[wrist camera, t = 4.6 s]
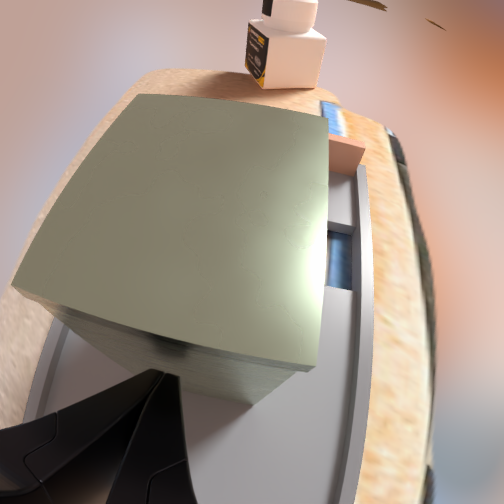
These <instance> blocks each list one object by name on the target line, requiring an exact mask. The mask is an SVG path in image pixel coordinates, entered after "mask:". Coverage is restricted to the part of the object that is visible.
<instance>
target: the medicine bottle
mask: <svg viewBox="0 0 504 504" xmlns="http://www.w3.org/2000/svg"><path fill="white" fill-rule="evenodd" d="M317 7H318V0H263V7H262V16H261V18H262V19H263V20H250V21H249V24H248V36H247V48H246V59H245V67H246V68H247V70H248V71H249V72H250V74H251V75H252V76H253V78H254V79H255V80H256V82H257V83H258V84H259V86H260V87H261V88H262V89H283V88H315V87H316V86H317V81H318V77H319V73H320V68H321V64H322V60H323V55H324V51H325V46H326V42H327V39H326V38H325V37H324V36H322V35H321V34H319V33H318V32H316V31H315V30H313V29H312V28H311V27H313V26H314V22H315V18H316V12H317Z"/></svg>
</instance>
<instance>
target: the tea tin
mask: <svg viewBox="0 0 504 504" xmlns="http://www.w3.org/2000/svg"><path fill="white" fill-rule="evenodd" d="M328 180H329V135H328V118H324V117H320V116H316V115H311V114H307V113H302V112H297V111H292V110H287V109H281V108H276V107H270V106H264V105H258V104H251V103H245V102H237V101H230V100H222V99H213V98H203V97H192V96H178V95H161V94H138V95H137V96H136V97H135V98H134V99H133V100H132V101H131V103H130V104H129V105H128V106H127V107H126V108H125V109H124V111H123V112H122V113H121V114H120V115H119V116H118V117H117V119H116V120H115V121H114V122H113V123H112V125H111V126H110V127H109V128H108V130H107V131H106V132H105V133H104V134H103V136H102V137H101V138H100V140H99V141H98V142H97V143H96V145H95V146H94V147H93V149H92V150H91V151H90V153H89V154H88V155H87V157H86V158H85V159H84V161H83V162H82V163H81V165H80V166H79V168H78V169H77V170H76V172H75V173H74V175H73V176H72V178H71V179H70V181H69V182H68V184H67V185H66V187H65V188H64V190H63V191H62V193H61V194H60V196H59V197H58V199H57V200H56V202H55V204H54V205H53V207H52V208H51V210H50V212H49V213H48V215H47V217H46V218H45V220H44V222H43V224H42V225H41V227H40V229H39V231H38V232H37V234H36V236H35V238H34V240H33V241H32V243H31V245H30V247H29V249H28V251H27V253H26V255H25V257H24V259H23V261H22V263H21V265H20V267H19V269H18V271H17V273H16V275H15V277H14V279H13V281H12V284H11V285H12V286H13V287H14V288H15V289H16V290H17V291H18V292H19V293H21V294H22V295H23V296H24V297H26V298H28V299H31V300H33V301H36V302H38V303H39V304H40V305H42V306H43V307H44V308H45V309H46V310H47V311H49V312H50V313H51V314H52V315H53V316H54V317H56V318H57V319H58V320H59V321H61V322H62V323H63V324H64V325H66V326H67V327H68V328H69V329H71V330H72V331H73V332H74V333H76V334H77V335H78V336H80V337H81V338H82V339H84V340H85V341H86V342H88V343H89V344H90V345H92V346H93V347H94V348H96V349H97V350H99V351H100V352H101V353H103V354H104V355H106V356H107V357H108V358H110V359H111V360H113V361H114V362H116V363H117V364H119V365H120V366H122V367H123V368H125V369H126V370H128V371H129V372H131V373H132V374H134V375H137V374H139V373H141V372H143V371H145V370H147V369H150V368H154V369H157V370H161V371H164V372H165V373H167V372H168V373H172V374H176V375H179V376H180V381H181V390H184V391H188V392H192V393H196V394H200V395H204V396H209V397H213V398H218V399H223V400H227V401H232V402H238V403H243V404H248V405H255V404H257V403H258V402H259V401H261V400H262V399H263V398H264V397H266V396H267V395H268V394H270V393H271V392H272V391H274V390H275V389H276V388H277V387H279V386H280V385H281V384H282V383H284V382H285V381H286V380H287V379H289V378H290V377H291V376H292V375H293V374H295V373H296V372H297V371H298V372H305V373H308V372H309V371H310V370H312V369H313V368H315V367H316V363H317V355H318V346H319V336H320V326H321V315H322V304H323V291H324V277H325V262H326V244H327V220H328Z"/></svg>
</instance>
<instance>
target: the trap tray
mask: <svg viewBox="0 0 504 504" xmlns="http://www.w3.org/2000/svg"><path fill="white" fill-rule="evenodd" d="M328 135H329V180H328V220H327V230H330V231H335V232H339V233H344V234H348V235H352V280H351V290H345V289H340V288H334V287H329V286H324V291H323V304H322V315H321V326H320V336H319V346H318V355H317V363H316V367H315V368H313V369H312V370H310V371H309V372H308V373H305V372H298V371H297V372H296V373H295V374H293V375H292V376H291V377H290V378H289V379H287V380H286V381H285V382H284V383H282V384H281V385H280V386H279V387H277V388H276V389H275V390H274V391H272V392H271V393H270V394H268V395H267V396H266V397H264V398H263V399H262V400H261V401H259V402H258V403H257V404H255V405H248V404H243V403H238V402H232V401H227V400H223V399H218V398H213V397H209V396H204V395H200V394H196V393H192V392H188V391H184V390H181V393H182V405H183V415H184V425H185V435H186V443H187V452H188V459H189V460H188V462H189V466H190V473H191V478H192V484H193V488H194V492H195V496H196V499H197V502H198V504H354V500H355V495H356V490H357V485H358V480H359V474H360V468H361V462H362V456H363V449H364V442H365V435H366V427H367V419H368V409H369V399H370V388H371V374H372V357H373V330H374V276H373V249H372V231H371V217H370V205H369V195H368V185H367V176H366V168H365V165H361V164H359V163H360V161H361V158H362V156H363V153H364V151H365V142H361V141H357V140H354V139H350V138H346V137H342V136H338V135H334V134H330V133H328ZM133 376H135V375H134V374H132V373H131V372H129V371H128V370H126V369H125V368H123V367H122V366H120V365H119V364H117V363H116V362H114V361H113V360H111V359H110V358H108V357H107V356H106V355H104V354H103V353H101V352H100V351H99V350H97V349H96V348H94V347H93V346H92V345H90V344H89V343H88V342H86V341H85V340H84V339H82V338H81V337H80V336H78V335H77V334H76V333H74V332H73V331H72V330H71V329H69V328H68V327H67V326H66V325H64V324H63V323H62V322H61V321H59V320H58V319H57V318H56V317H54V319H53V322H52V325H51V327H50V330H49V333H48V336H47V339H46V341H45V344H44V347H43V350H42V353H41V356H40V360H39V363H38V366H37V369H36V372H35V376H34V379H33V383H32V386H31V390H30V394H29V398H28V402H27V406H26V410H25V414H24V418H23V423H26V422H29V421H32V420H35V419H37V418H40V417H43V416H45V415H48V414H50V413H52V412H56V413H57V411H58V410H60V409H62V408H65V407H67V406H69V405H72V404H74V403H76V402H78V401H81V400H83V399H85V398H87V397H90V396H92V395H94V394H96V393H99V392H101V391H103V390H105V389H107V388H110V387H112V386H114V385H116V384H118V383H120V382H122V381H125V380H127V379H129V378H131V377H133ZM23 423H22V424H23Z"/></svg>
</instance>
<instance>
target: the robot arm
mask: <svg viewBox="0 0 504 504" xmlns="http://www.w3.org/2000/svg"><path fill="white" fill-rule="evenodd" d="M188 460H189V459H188V452H187V443H186V435H185V425H184V415H183V405H182V393H181V381H180V376H179V375H176V374H172V373H168V372H167V373H165V372H164V371H161V370H157V369H154V368H150V369H147V370H145V371H143V372H141V373H139V374H137V375H135V376H133V377H131V378H129V379H127V380H125V381H122V382H120V383H118V384H116V385H114V386H112V387H110V388H107V389H105V390H103V391H101V392H99V393H96V394H94V395H92V396H90V397H87V398H85V399H83V400H81V401H78V402H76V403H74V404H72V405H69V406H67V407H65V408H62V409H60V410H58V411H57V413H56V412H52V413H50V414H48V415H45V416H43V417H40V418H37V419H35V420H32V421H29V422H26V423H23V424H19V425H16V426H13V427H9V428H5V429H1V430H0V504H198V502H197V499H196V496H195V492H194V488H193V484H192V478H191V473H190V466H189V462H188Z"/></svg>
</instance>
